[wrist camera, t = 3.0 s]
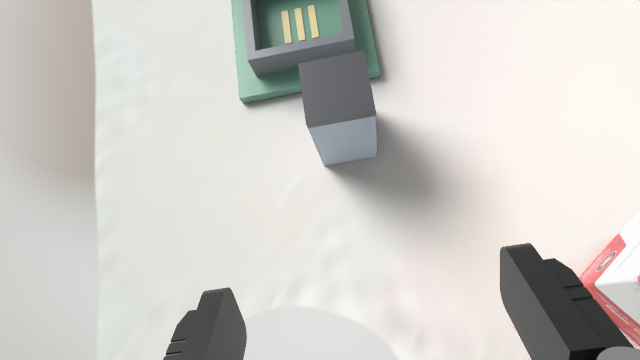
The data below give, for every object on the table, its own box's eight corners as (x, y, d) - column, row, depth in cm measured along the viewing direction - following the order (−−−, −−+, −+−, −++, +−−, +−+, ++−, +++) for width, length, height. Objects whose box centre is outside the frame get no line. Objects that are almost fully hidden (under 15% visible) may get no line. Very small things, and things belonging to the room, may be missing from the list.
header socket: (357, -36, 32) (354, -69, 30) (380, 77, 29) (379, 52, 27) (233, -9, 33) (219, -38, 31) (243, 103, 30) (228, 82, 28)
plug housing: (368, 108, 29) (363, 50, 22) (377, 156, 28) (375, 110, 21) (317, 117, 29) (298, 63, 23) (324, 166, 28) (306, 123, 22)
